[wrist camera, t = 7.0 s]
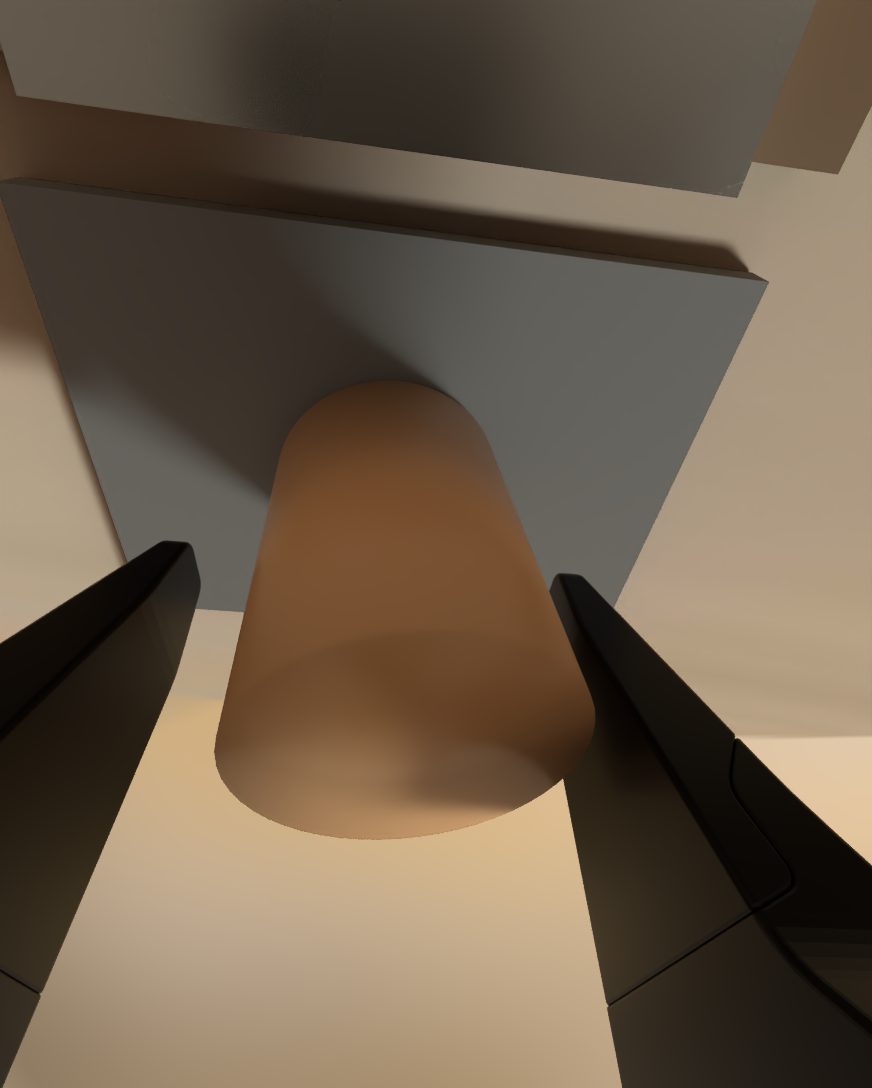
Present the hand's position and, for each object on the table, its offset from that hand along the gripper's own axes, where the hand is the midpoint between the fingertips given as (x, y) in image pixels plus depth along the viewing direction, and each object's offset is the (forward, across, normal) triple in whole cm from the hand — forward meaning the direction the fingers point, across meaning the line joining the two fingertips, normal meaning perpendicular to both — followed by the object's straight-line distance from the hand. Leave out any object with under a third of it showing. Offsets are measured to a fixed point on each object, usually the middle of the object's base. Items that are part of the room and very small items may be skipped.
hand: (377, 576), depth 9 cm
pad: (+4, 0, 0) cm, 4 cm away
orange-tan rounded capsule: (+3, 0, 0) cm, 3 cm away
